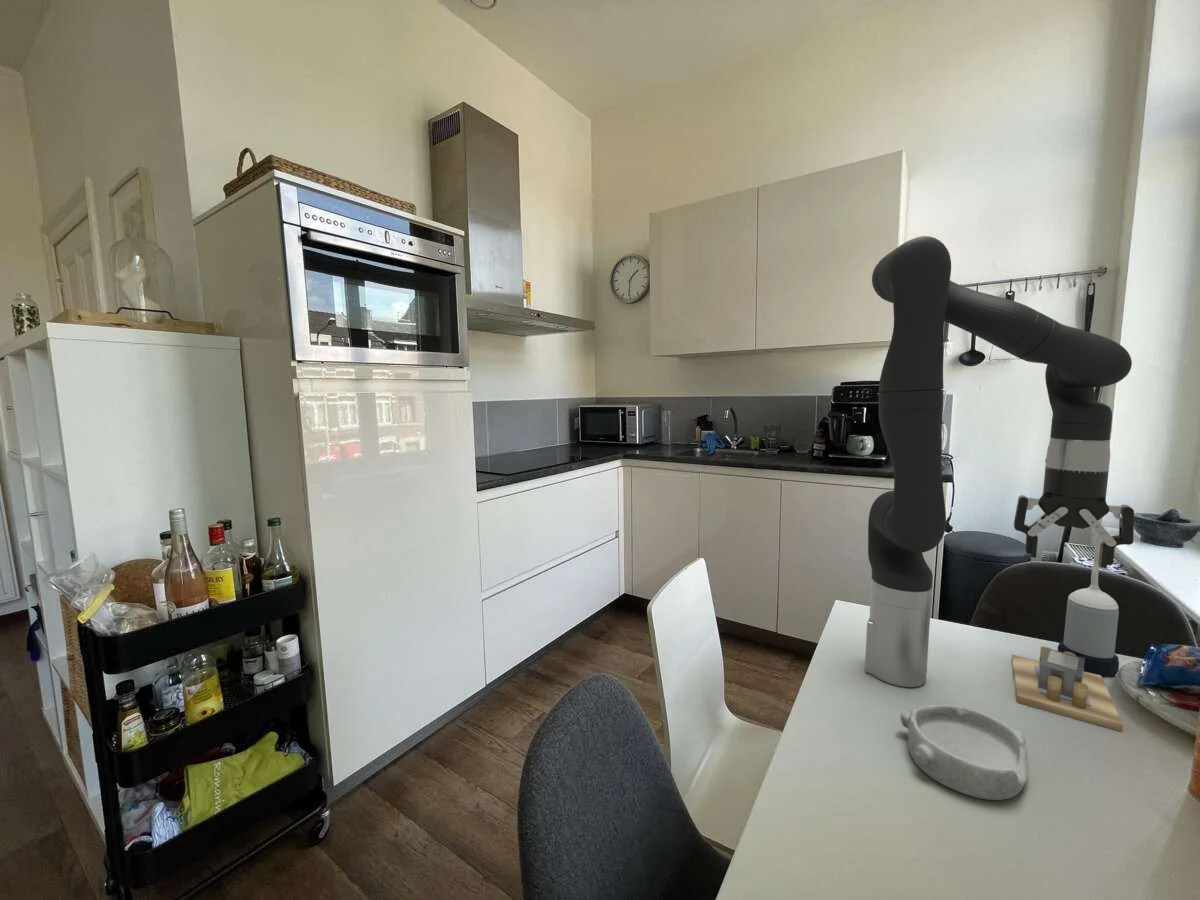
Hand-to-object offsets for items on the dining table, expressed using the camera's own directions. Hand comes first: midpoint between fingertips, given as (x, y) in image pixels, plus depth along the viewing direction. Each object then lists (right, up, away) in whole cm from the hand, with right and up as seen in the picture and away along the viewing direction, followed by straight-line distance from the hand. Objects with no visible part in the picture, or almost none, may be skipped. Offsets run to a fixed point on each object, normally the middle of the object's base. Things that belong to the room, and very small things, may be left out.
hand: (1066, 561), depth 82 cm
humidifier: (+12, -22, +9) cm, 26 cm away
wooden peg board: (0, -22, +1) cm, 22 cm away
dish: (-29, -25, -15) cm, 41 cm away
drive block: (0, -21, +1) cm, 21 cm away
